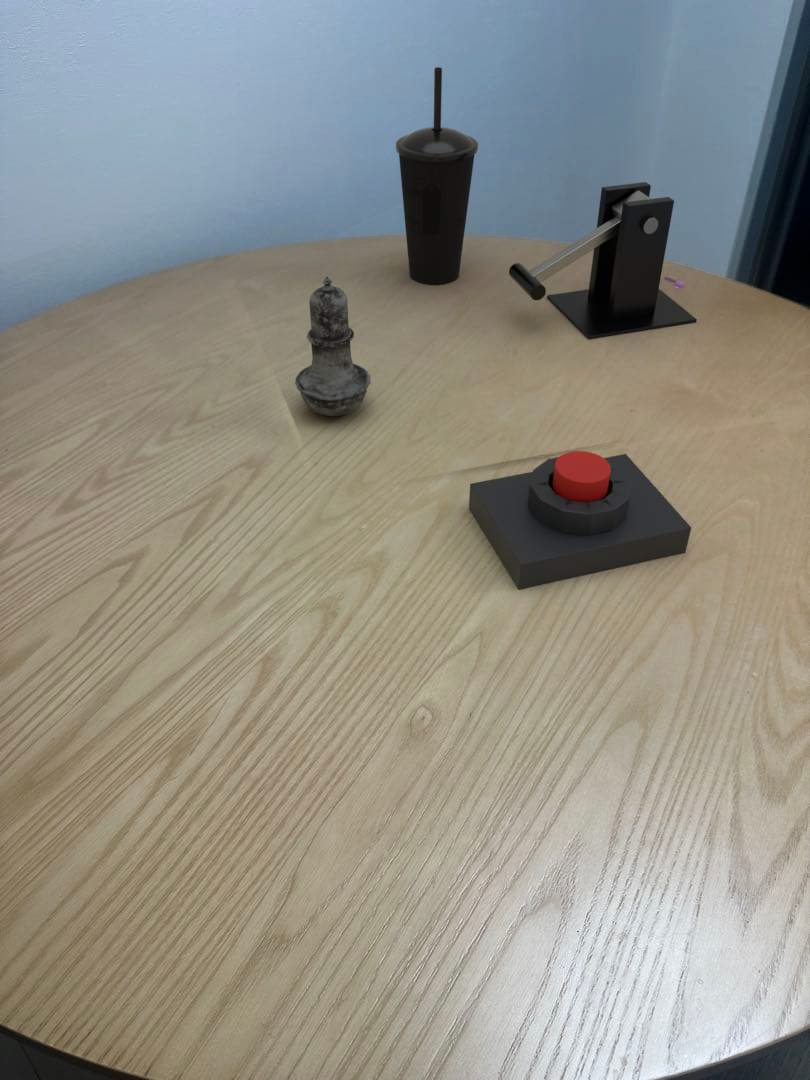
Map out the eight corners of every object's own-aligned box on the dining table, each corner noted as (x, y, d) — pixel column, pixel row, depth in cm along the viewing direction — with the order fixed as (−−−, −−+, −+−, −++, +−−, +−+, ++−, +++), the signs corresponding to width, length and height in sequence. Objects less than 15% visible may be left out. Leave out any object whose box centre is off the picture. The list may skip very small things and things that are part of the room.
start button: (592, 468, 64) (595, 446, 63) (617, 498, 61) (620, 476, 60) (543, 477, 63) (546, 455, 62) (566, 508, 60) (569, 486, 59)
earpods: (665, 300, 96) (652, 291, 95) (674, 286, 96) (661, 276, 95) (681, 301, 93) (668, 291, 92) (690, 286, 93) (677, 277, 92)
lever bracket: (586, 348, 85) (604, 218, 77) (545, 306, 91) (557, 183, 84) (694, 331, 87) (721, 203, 80) (646, 291, 94) (667, 170, 87)
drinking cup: (487, 287, 95) (499, 70, 82) (425, 305, 92) (428, 83, 79) (442, 261, 100) (447, 54, 87) (382, 279, 97) (378, 65, 84)
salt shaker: (286, 430, 74) (272, 286, 67) (316, 394, 79) (307, 255, 71) (355, 444, 73) (348, 299, 65) (382, 407, 77) (379, 266, 70)
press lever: (535, 308, 83) (526, 286, 81) (513, 285, 87) (504, 264, 85) (665, 226, 82) (659, 203, 80) (637, 207, 86) (630, 184, 84)
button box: (621, 478, 69) (629, 432, 67) (685, 553, 63) (697, 505, 60) (468, 508, 66) (470, 461, 64) (518, 590, 60) (523, 541, 57)
